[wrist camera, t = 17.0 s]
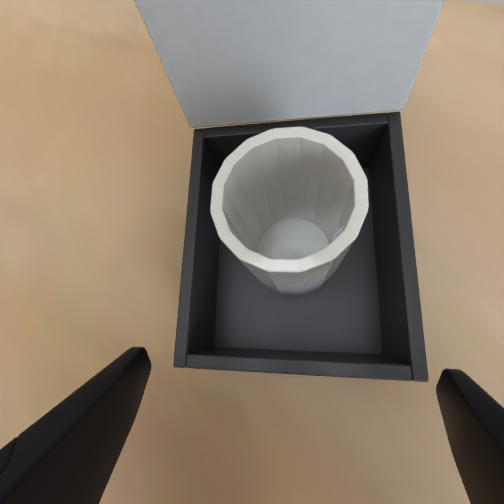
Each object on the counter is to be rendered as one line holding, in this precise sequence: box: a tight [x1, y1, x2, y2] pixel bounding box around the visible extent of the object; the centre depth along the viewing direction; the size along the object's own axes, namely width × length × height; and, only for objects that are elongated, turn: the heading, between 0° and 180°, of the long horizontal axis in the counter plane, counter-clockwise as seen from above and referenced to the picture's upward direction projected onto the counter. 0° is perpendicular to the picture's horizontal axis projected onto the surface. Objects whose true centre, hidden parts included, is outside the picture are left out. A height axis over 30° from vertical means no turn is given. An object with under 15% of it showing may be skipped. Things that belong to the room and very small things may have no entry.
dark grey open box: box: [173, 112, 428, 382], centre depth 19 cm, size 14×12×6 cm
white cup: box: [210, 127, 369, 297], centre depth 16 cm, size 6×6×10 cm
